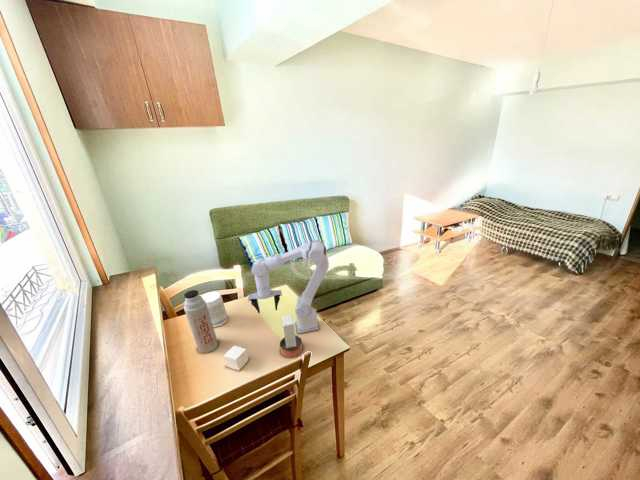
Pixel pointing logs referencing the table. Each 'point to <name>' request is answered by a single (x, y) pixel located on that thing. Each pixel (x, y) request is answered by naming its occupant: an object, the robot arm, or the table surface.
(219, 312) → the supplement tub
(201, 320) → the thermos bottle
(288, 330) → the cosmetic box
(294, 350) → the terracotta tin
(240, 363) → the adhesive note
